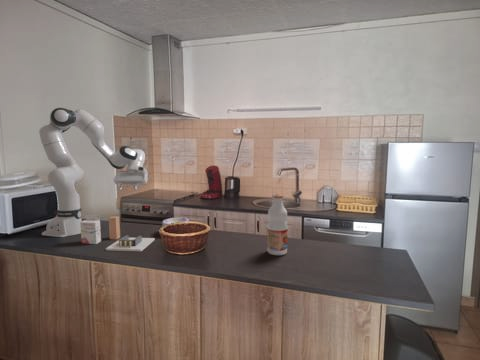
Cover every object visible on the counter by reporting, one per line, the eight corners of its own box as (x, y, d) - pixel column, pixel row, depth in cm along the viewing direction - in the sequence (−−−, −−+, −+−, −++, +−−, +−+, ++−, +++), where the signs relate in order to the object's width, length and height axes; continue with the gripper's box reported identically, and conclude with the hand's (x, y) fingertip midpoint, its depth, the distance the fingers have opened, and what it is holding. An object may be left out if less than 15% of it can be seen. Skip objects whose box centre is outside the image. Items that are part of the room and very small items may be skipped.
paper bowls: (159, 232, 184) (159, 218, 183) (184, 228, 191) (184, 215, 190) (166, 239, 171) (166, 224, 170) (192, 235, 178) (192, 221, 177)
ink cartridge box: (81, 243, 163) (79, 216, 161) (86, 240, 168) (84, 214, 166) (96, 244, 162) (94, 216, 160) (101, 241, 167) (100, 214, 165)
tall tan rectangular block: (109, 239, 170) (108, 217, 169) (113, 237, 174) (112, 216, 173) (116, 239, 170) (115, 218, 169) (120, 237, 174) (119, 216, 173)
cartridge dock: (105, 250, 153) (105, 242, 152) (122, 239, 171) (122, 231, 170) (141, 251, 151) (140, 243, 151) (154, 239, 169) (154, 232, 169)
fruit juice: (266, 249, 154) (266, 193, 151) (285, 248, 155) (285, 193, 151) (268, 256, 145) (269, 196, 142) (288, 255, 145) (289, 196, 142)
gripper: (115, 168, 194) (108, 185, 185) (147, 168, 192) (141, 186, 183) (119, 174, 199) (112, 191, 190) (150, 174, 197) (145, 192, 188)
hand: (127, 189), depth 187 cm, fingers open, 8 cm apart
